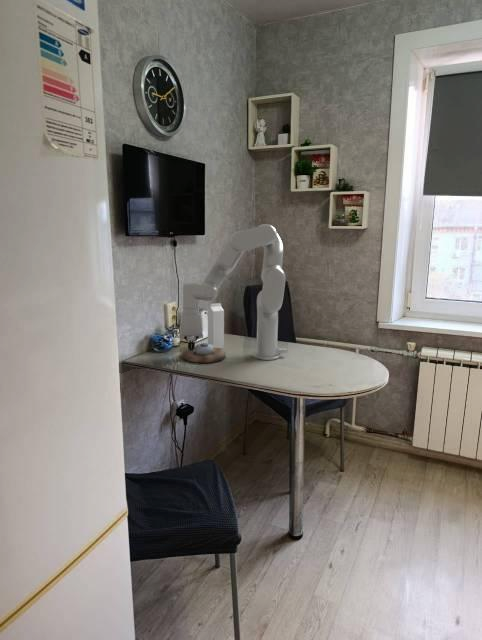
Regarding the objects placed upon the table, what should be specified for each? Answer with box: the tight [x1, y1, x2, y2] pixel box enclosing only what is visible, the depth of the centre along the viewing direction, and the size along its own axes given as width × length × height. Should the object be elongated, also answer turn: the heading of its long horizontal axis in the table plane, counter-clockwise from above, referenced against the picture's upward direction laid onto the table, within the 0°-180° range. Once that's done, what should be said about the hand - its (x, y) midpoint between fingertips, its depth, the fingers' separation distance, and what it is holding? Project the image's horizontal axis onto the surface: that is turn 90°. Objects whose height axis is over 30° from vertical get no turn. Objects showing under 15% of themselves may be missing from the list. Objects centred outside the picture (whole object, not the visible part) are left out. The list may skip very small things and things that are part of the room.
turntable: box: [181, 346, 227, 364], centre depth 199 cm, size 20×20×2 cm
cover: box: [195, 342, 213, 355], centre depth 198 cm, size 8×8×4 cm
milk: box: [207, 302, 225, 349], centre depth 214 cm, size 6×6×22 cm
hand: (191, 350), depth 198 cm, fingers closed
